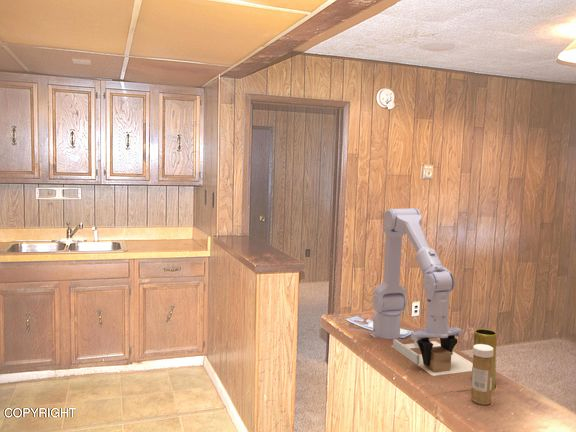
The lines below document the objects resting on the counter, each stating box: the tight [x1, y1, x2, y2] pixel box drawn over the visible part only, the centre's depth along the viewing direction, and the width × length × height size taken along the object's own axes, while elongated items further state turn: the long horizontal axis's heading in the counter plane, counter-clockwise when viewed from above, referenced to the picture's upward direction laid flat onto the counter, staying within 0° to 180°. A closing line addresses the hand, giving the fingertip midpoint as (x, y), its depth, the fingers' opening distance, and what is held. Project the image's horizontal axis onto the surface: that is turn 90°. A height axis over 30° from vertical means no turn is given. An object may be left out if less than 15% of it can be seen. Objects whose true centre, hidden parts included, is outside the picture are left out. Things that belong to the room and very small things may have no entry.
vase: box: [471, 328, 498, 391], centre depth 129 cm, size 6×6×14 cm
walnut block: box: [424, 346, 451, 373], centre depth 137 cm, size 5×5×5 cm
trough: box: [392, 339, 420, 365], centre depth 148 cm, size 14×8×2 cm, turn 16°
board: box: [391, 340, 473, 377], centre depth 146 cm, size 23×16×2 cm
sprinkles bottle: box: [471, 344, 494, 406], centre depth 121 cm, size 5×5×14 cm
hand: (435, 363), depth 138 cm, fingers closed on walnut block, 5 cm apart
